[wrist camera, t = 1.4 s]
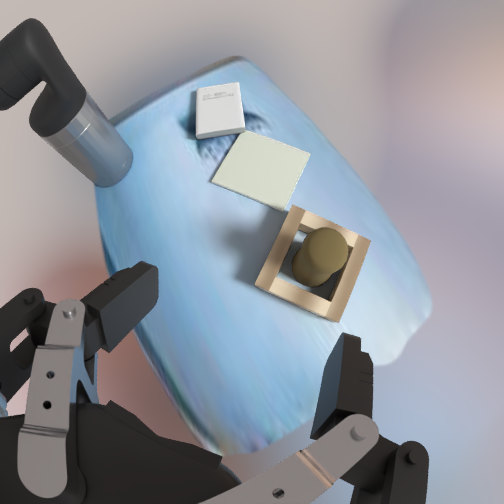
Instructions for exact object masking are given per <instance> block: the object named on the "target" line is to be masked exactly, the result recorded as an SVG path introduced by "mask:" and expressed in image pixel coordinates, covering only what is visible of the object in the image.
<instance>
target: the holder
mask: <svg viewBox="0 0 504 504" xmlns="http://www.w3.org/2000/svg"><path fill="white" fill-rule="evenodd" d="M321 227H329V228H332V229H335V230H337V231H338V232H339V233H341V234H342V235H343V237H344V238H345V240H346V242H347V245H348V256H347V260H346V262H345V264H344V265H343V267H342V268H341V271H340V273H339V276H338V278H337V281H336V283H335V286H334V288H333V290H332V293H331V295H330V297H329V300H328V301H327V300H325V299H323V298H321V297H319V296H316V295H314V294H312V293H310V292H308V291H306V290H303V289H301V288H299V287H297V286H295V285H292V284H290V283H288V282H286V281H284V280H282V279H279V278H277V277H276V276H277V274H278V272H279V270H280V268H281V266H282V264H283V261H284V259H285V257H286V255H287V253H288V251H289V248H290V246H291V244H292V242H293V240H294V237H295V235H296V233H297V231H298V230H300V231H303V232H305V233H307V234H309V233H310V232H312V231H313V230H315V229H318V228H321ZM370 242H371V240H369V239H367V238H365V237H362V236H360V235H358V234H356V233H354V232H352V231H350V230H348V229H346V228H344V227H341V226H339V225H337V224H335V223H333V222H331V221H328V220H326V219H324V218H322V217H320V216H317V215H315V214H313V213H311V212H308V211H306V210H304V209H302V208H299V207H297V206H295V205H292V206H291V209H290V211H289V213H288V215H287V217H286V219H285V221H284V224H283V226H282V228H281V230H280V232H279V234H278V236H277V238H276V240H275V243H274V245H273V247H272V249H271V251H270V253H269V255H268V257H267V259H266V261H265V264H264V266H263V268H262V270H261V272H260V274H259V276H258V278H257V280H256V282H255V286H256V287H258V288H260V289H262V290H264V291H266V292H268V293H270V294H273V295H275V296H277V297H279V298H281V299H283V300H286V301H288V302H290V303H292V304H294V305H297V306H299V307H301V308H303V309H305V310H308V311H310V312H312V313H314V314H316V315H319V316H321V317H323V318H325V319H328V320H330V321H332V322H339V321H340V318H341V316H342V314H343V312H344V309H345V307H346V305H347V302H348V300H349V297H350V295H351V292H352V290H353V287H354V285H355V282H356V280H357V277H358V275H359V272H360V269H361V267H362V264H363V261H364V259H365V256H366V253H367V250H368V247H369V245H370Z"/></svg>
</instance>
